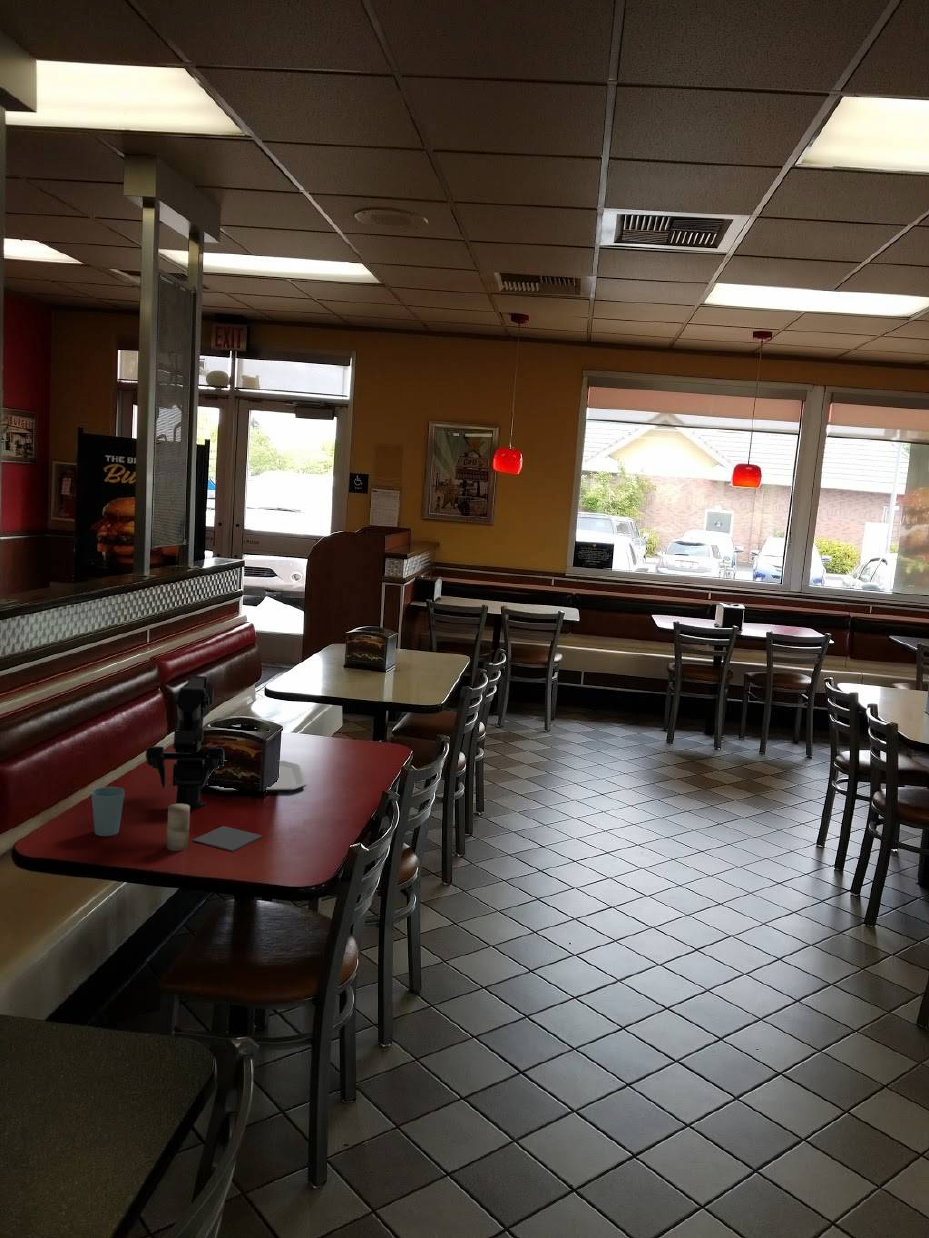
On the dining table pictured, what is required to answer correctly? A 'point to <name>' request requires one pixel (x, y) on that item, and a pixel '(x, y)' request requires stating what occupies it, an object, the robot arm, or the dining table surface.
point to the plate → (281, 779)
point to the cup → (107, 810)
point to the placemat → (227, 838)
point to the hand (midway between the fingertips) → (182, 787)
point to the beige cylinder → (178, 827)
